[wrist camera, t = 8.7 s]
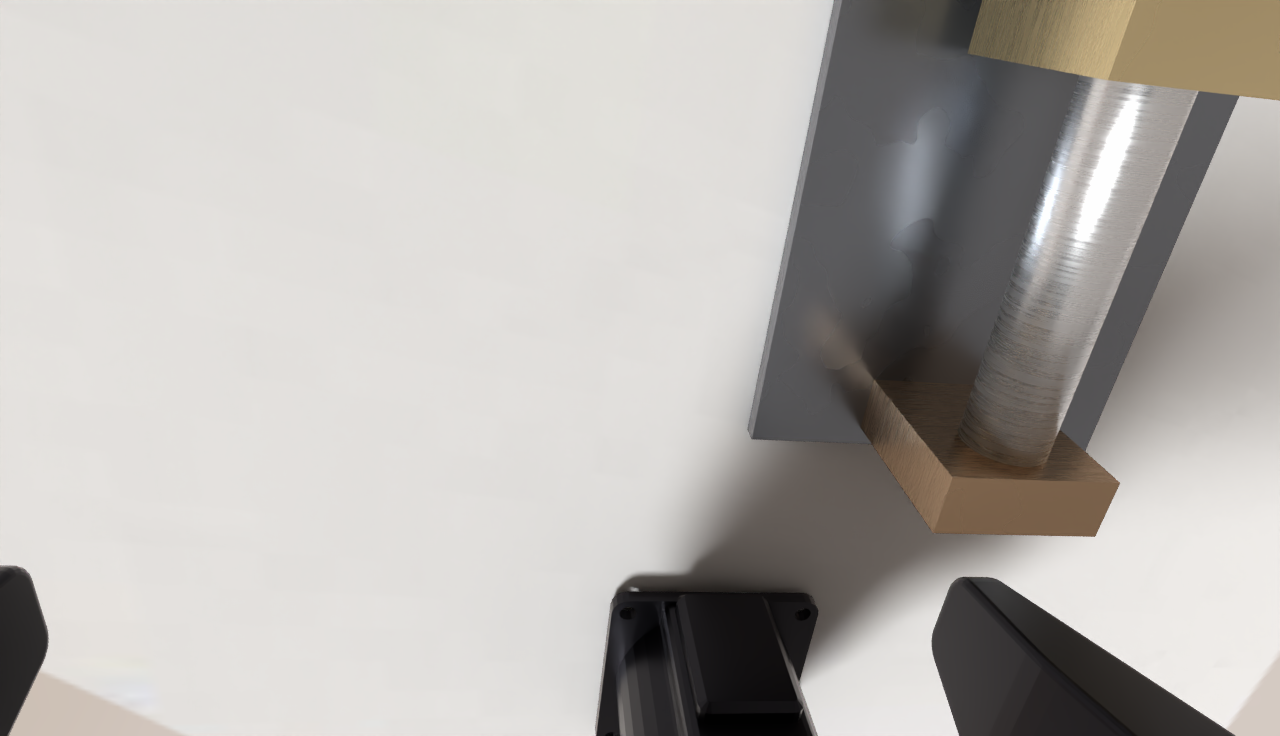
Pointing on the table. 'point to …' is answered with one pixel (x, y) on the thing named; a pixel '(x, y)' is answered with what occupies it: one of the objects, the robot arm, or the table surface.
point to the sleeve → (1141, 41)
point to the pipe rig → (973, 264)
